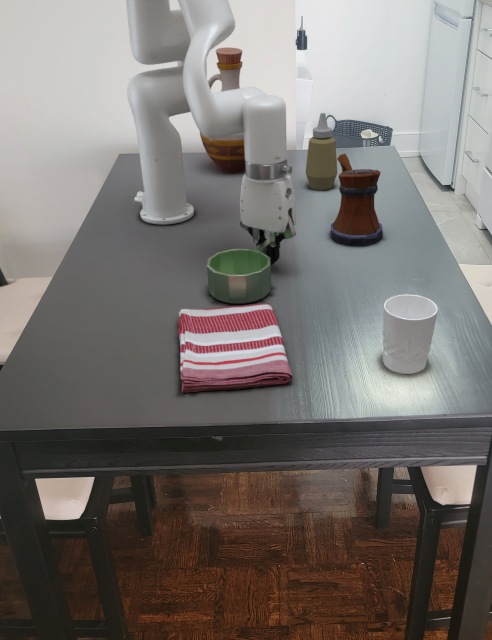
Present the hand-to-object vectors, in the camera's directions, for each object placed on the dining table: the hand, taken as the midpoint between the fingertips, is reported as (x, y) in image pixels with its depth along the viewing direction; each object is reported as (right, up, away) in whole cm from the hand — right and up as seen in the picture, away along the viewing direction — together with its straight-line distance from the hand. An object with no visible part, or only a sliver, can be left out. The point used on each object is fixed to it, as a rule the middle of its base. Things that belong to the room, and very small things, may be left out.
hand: (268, 261), depth 136 cm
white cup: (+21, -21, -27) cm, 40 cm away
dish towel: (-6, -18, -23) cm, 30 cm away
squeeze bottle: (+14, +25, +40) cm, 50 cm away
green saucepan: (-3, -4, -3) cm, 6 cm away
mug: (+19, +9, +16) cm, 27 cm away
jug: (-9, +35, +55) cm, 66 cm away
